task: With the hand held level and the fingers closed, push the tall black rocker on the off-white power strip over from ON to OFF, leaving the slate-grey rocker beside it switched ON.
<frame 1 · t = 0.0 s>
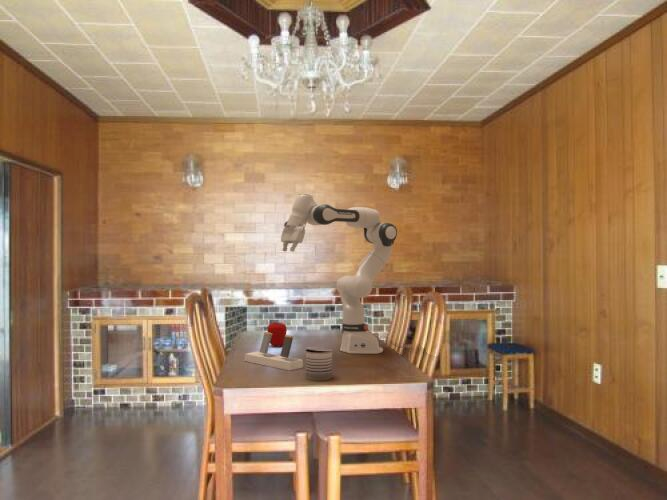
hand: (288, 251, 258), 52 cm above the table, tool tilted 20°, fingers open, 8 cm apart
can: (318, 377, 218), on the table
grey rocker: (265, 342, 247), point 9 cm above the table, hinge at -20.0°
black rocker: (286, 346, 238), point 9 cm above the table, hinge at -20.0°
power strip: (272, 364, 241), on the table
red rounded lump: (277, 346, 288), on the table
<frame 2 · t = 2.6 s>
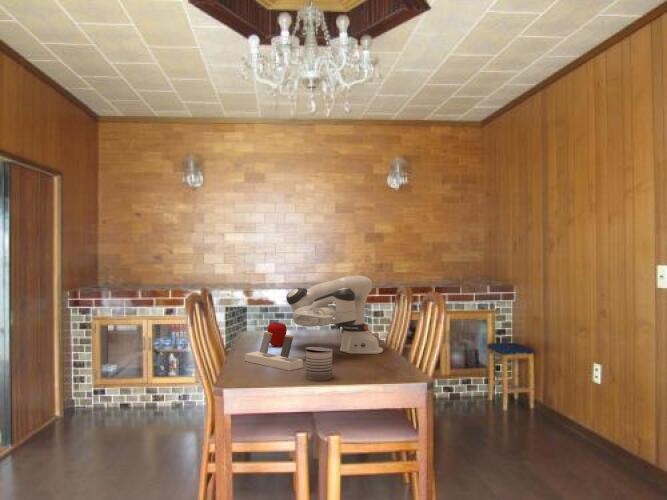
hand: (302, 319, 246), 20 cm above the table, tool horizontal, fingers open, 8 cm apart
nothing on the table moved.
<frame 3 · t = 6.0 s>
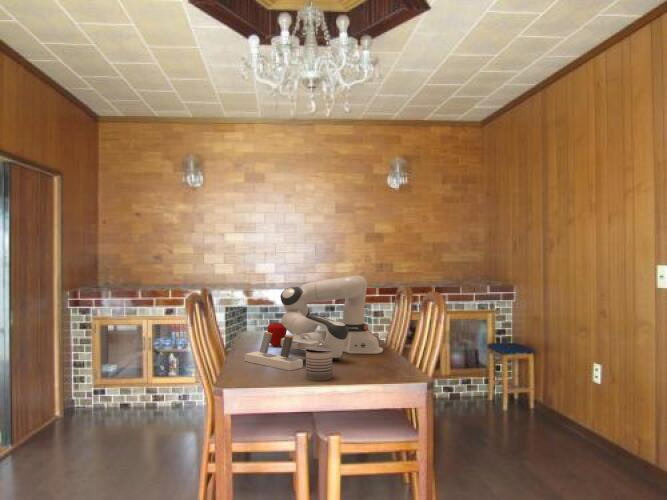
hand: (287, 346, 239), 9 cm above the table, tool horizontal, fingers closed, pressing on black rocker
black rocker: (286, 346, 238), point 9 cm above the table, hinge at -19.6°, touching gripper
everything else where it was.
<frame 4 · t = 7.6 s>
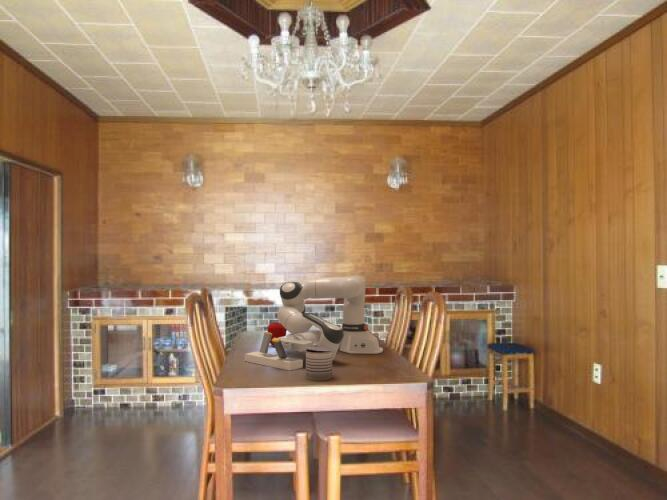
hand: (280, 346, 236), 9 cm above the table, tool horizontal, fingers closed, pressing on black rocker
black rocker: (279, 348, 235), point 9 cm above the table, hinge at 27.6°, touching gripper
everything else where it was.
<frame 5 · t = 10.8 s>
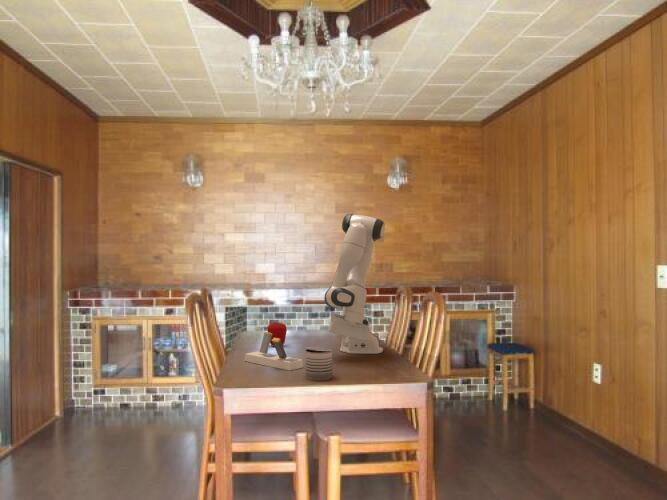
hand: (345, 346, 251), 7 cm above the table, tool tilted 15°, fingers closed
black rocker: (279, 348, 235), point 9 cm above the table, hinge at 27.7°
everything else where it was.
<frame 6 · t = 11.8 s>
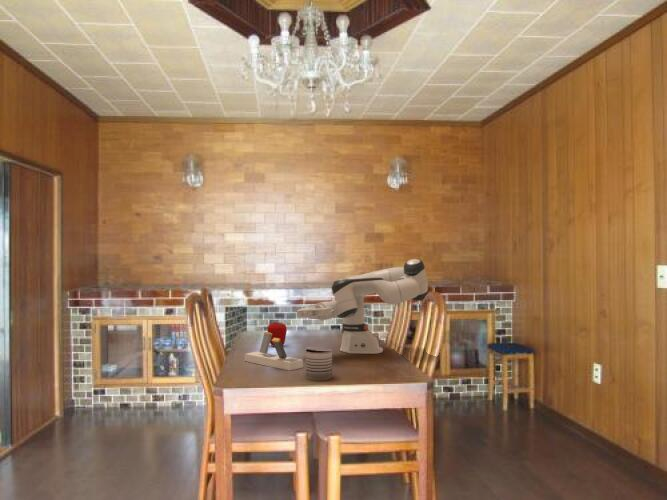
hand: (302, 314, 247), 22 cm above the table, tool horizontal, fingers closed
nothing on the table moved.
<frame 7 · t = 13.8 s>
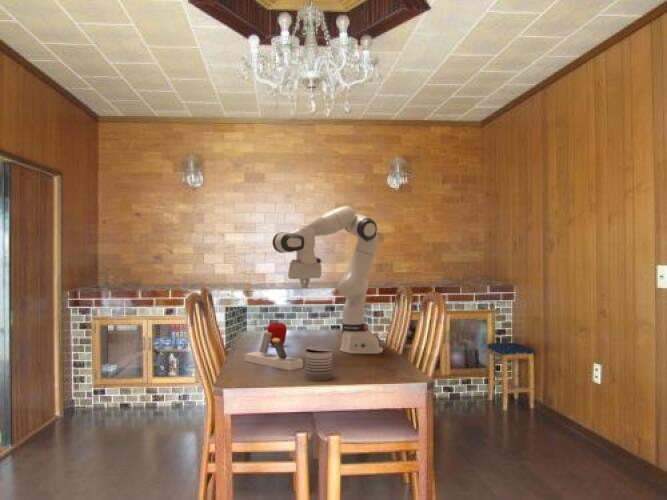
hand: (304, 288, 255), 34 cm above the table, tool pointing down, fingers closed
nothing on the table moved.
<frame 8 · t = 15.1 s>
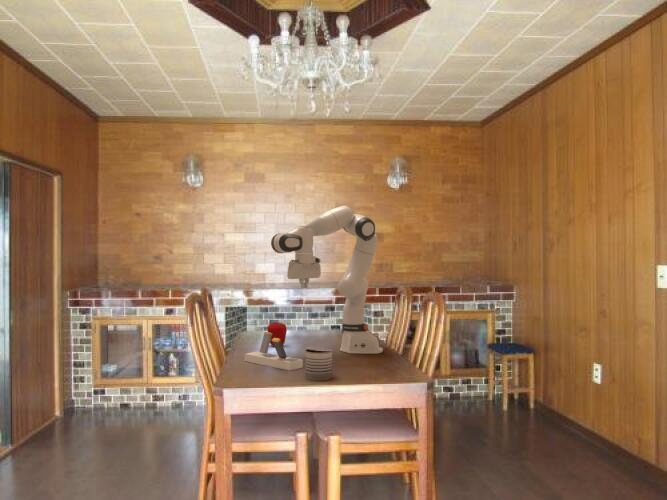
hand: (304, 288, 255), 34 cm above the table, tool pointing down, fingers closed
nothing on the table moved.
at the end: black rocker at +28° (first picture: -20°); grey rocker at -20° (first picture: -20°) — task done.
